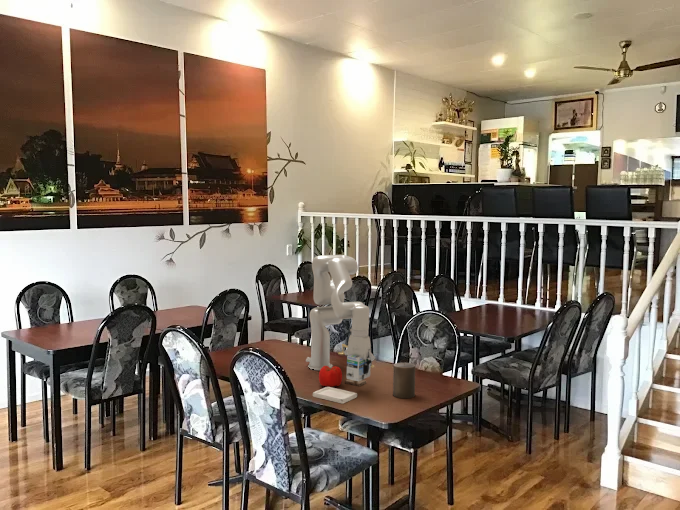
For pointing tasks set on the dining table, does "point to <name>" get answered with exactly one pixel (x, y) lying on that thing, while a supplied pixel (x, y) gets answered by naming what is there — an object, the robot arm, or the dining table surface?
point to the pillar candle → (404, 380)
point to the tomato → (330, 376)
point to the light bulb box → (356, 368)
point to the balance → (353, 380)
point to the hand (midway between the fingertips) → (358, 371)
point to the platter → (335, 395)
